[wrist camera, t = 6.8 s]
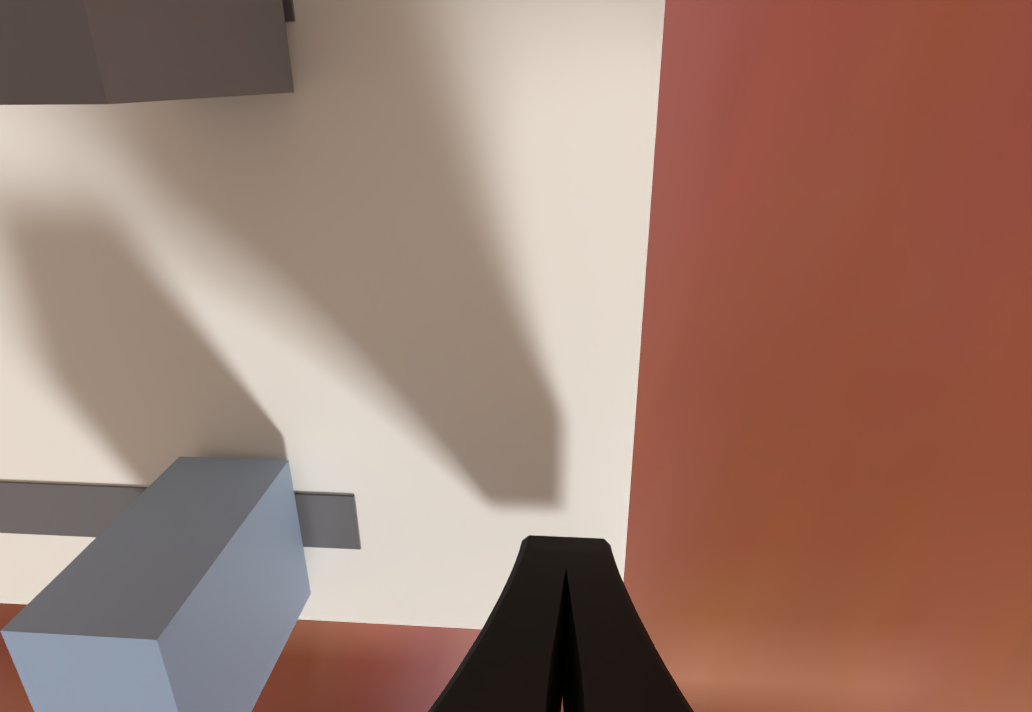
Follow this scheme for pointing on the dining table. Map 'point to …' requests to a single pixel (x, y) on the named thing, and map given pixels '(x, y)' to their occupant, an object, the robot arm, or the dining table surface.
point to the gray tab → (141, 50)
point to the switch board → (344, 296)
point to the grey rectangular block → (172, 598)
